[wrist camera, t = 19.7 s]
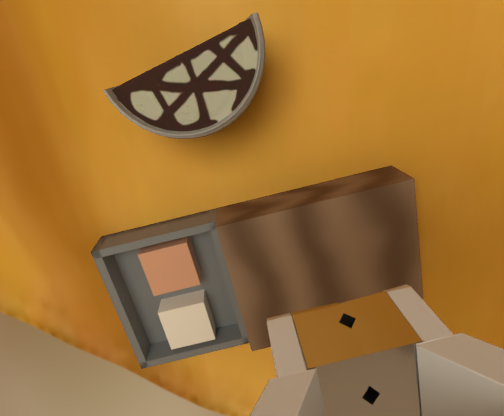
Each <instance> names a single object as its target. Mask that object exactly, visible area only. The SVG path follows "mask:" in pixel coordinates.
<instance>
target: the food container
mask: <svg viewBox="0 0 504 416" xmlns="http://www.w3.org/2000/svg"><path fill="white" fill-rule="evenodd" d="M264 63H265V40H264V34H263V29H262V25H261V21H260V18H259V15H258V13H253V14H251V15H250V16H249V17H248V18H247V19H246V20H245V21H243V22H241V23H239V24H238V25H236V26H234V27H233V28H231V29H229V30H227V31H225V32H223V33H221V34H219V35H217V36H215V37H213V38H211V39H209V40H207V41H205V42H203V43H202V44H200V45H197V46H195V47H194V48H192V49H190V50H188V51H186V52H184V53H182V54H180V55H178V56H175V57H174V58H172V59H170V60H168V61H166V62H165V63H163V64H161V65H159V66H157V67H154V68H153V69H151V70H149V71H147V72H145V73H143V74H141V75H139V76H137V77H135V78H133V79H131V80H129V81H127V82H125V83H123V84H122V85H120V86H116V87H112V88H109V89H105V90H104V93H105V94H106V96H107V97H108V99H109V100H110V102H111V103H112V104H113V105H114V106H115V107H116V108H117V109H118V110H119V112H120V113H122V114H123V115H124V116H125V117H126V118H128V119H129V120H130V121H131V122H133V123H135V124H136V125H138V126H140V127H141V128H143V129H145V130H147V131H150V132H152V133H155V134H158V135H162V136H166V137H169V138H178V139H190V138H199V137H203V136H208V135H210V134H213V133H215V132H218V131H220V130H222V129H223V128H225V127H227V126H228V125H230V124H231V123H232V122H234V121H235V120H236V119H237V118H238V117H239V116H240V115H241V114H242V113H243V112H244V111H245V110H246V108H247V107H248V106H249V104H250V103H251V101H252V100H253V98H254V96H255V94H256V92H257V90H258V87H259V85H260V82H261V78H262V75H263V71H264Z"/></svg>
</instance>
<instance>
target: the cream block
mask: <svg viewBox="0 0 504 416" xmlns="http://www.w3.org/2000/svg"><path fill="white" fill-rule="evenodd" d="M158 315H159V318H160V321H161V323H162V326H163V329H164V331H165V334H166V337H167V339H168V342H169V345H170V347H171V350H172V349H176V348H181V347H185V346H189V345H193V344H198V343H202V342H206V341H210V340H215V333H216V325H215V321H214V318H213V315H212V312H211V309H210V305H209V302H208V299H207V296H206V293H205V289H203V290H199V291H195V292H191V293H186V294H182V295H178V296H174V297H170V298H165V299H161V302H160V306H159V310H158Z"/></svg>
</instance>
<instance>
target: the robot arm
mask: <svg viewBox="0 0 504 416" xmlns="http://www.w3.org/2000/svg"><path fill="white" fill-rule="evenodd" d="M267 327H268V333H269V338H270V343H271V349H272V354H273V360H274V365H275V370H276V376H277V378H273V379H270V380H269V381H268V383H267V385H266V387H265V389H264V390H263V392H262V394H261V396H260V398H259V400H258V402H257V403H256V405H255V407H254V409H253V411H252V413H251V414H250V416H504V349H502V348H499V347H497V346H494V345H492V344H489V343H487V342H484V341H481V340H479V339H476V338H474V337H471V336H469V335H466V334H463V333H460V334H455V335H454V334H453V333H452V332H451V331H450V329H449V328H448V327H447V326H446V325H445V324H444V323H443V322H442V321H441V319H440V318H439V317H438V316H437V315H436V314H435V313H434V312H433V310H432V309H431V308H430V307H429V306H428V305H427V304H426V303H425V302H424V300H423V299H422V298H421V297H420V296H419V295H418V294H417V293H416V291H415V290H414V289H413V288H412V287H411V286H409V285H407V284H406V285H402V286H398V287H395V288H391V289H387V290H384V291H383V292H379V293H375V294H371V295H367V296H363V297H359V298H355V299H351V300H347V301H343V302H339V303H333V304H328V305H323V306H319V307H314V308H310V309H305V310H301V311H296V312H291V314H290V313H288V314H283V315H279V316H275V317H271V318H267Z"/></svg>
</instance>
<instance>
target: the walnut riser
mask: <svg viewBox="0 0 504 416" xmlns="http://www.w3.org/2000/svg"><path fill="white" fill-rule="evenodd" d="M216 229H217V232H218V236H219V239H220V243H221V246H222V250H223V253H224V257H225V260H226V264H227V267H228V270H229V274H230V277H231V281H232V284H233V288H234V291H235V295H236V298H237V301H238V305H239V308H240V312H241V315H242V319H243V322H244V326H245V329H246V333H247V336H248V339H249V343H250V346H251V350H252V351H255V350H259V349H263V348H267V347H271V343H270V338H269V333H268V327H267V318H271V317H275V316H279V315H283V314H288V313H290V314H291V312H296V311H301V310H305V309H310V308H314V307H319V306H323V305H328V304H333V303H339V302H343V301H347V300H351V299H355V298H359V297H363V296H367V295H371V294H375V293H379V292H383V291H384V290H387V289H391V288H395V287H398V286H402V285H406V284H407V285H409V286H411V287H412V288H413V289H414V290H415V291H416V293H417V294H418V295H419V296H420V297H421V298H422V299H423V291H422V277H421V264H420V250H419V236H418V223H417V209H416V196H415V182H414V178H412V177H410V176H409V175H407V174H405V173H403V172H402V171H400V170H398V169H396V168H395V167H393V166H388V167H384V168H380V169H376V170H372V171H367V172H363V173H359V174H355V175H351V176H347V177H343V178H339V179H335V180H331V181H327V182H322V183H318V184H314V185H310V186H306V187H302V188H298V189H294V190H290V191H286V192H282V193H277V194H273V195H269V196H265V197H261V198H257V199H253V200H249V201H245V202H241V203H237V204H233V205H228V206H224V207H220V208H216Z"/></svg>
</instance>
